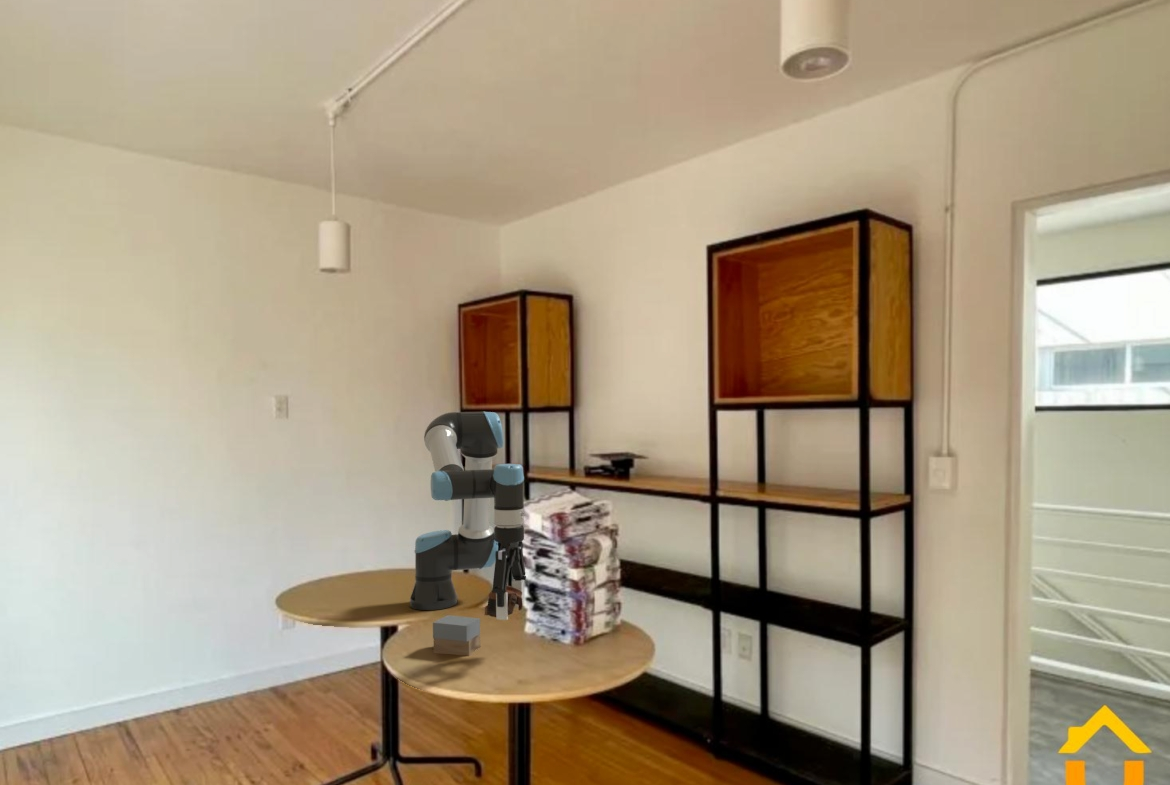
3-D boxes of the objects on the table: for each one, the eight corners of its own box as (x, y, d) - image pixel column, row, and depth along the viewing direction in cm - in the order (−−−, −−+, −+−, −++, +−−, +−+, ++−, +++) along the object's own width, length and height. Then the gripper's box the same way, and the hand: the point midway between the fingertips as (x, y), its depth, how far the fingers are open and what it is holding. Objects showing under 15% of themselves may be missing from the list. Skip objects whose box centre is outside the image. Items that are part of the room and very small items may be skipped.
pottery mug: (476, 614, 175) (486, 583, 179) (507, 626, 179) (517, 595, 182) (495, 613, 165) (506, 580, 169) (528, 626, 169) (538, 593, 173)
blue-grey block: (447, 630, 186) (447, 615, 186) (480, 633, 182) (480, 618, 182) (432, 638, 179) (432, 622, 179) (466, 641, 176) (466, 626, 176)
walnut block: (446, 645, 186) (445, 630, 186) (480, 647, 183) (480, 632, 183) (433, 654, 179) (433, 638, 179) (469, 656, 176) (468, 641, 176)
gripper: (507, 534, 163) (508, 627, 162) (536, 518, 185) (537, 600, 185) (477, 533, 164) (478, 625, 164) (510, 517, 187) (511, 598, 187)
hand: (509, 612), depth 174 cm, fingers closed on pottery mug, 11 cm apart
